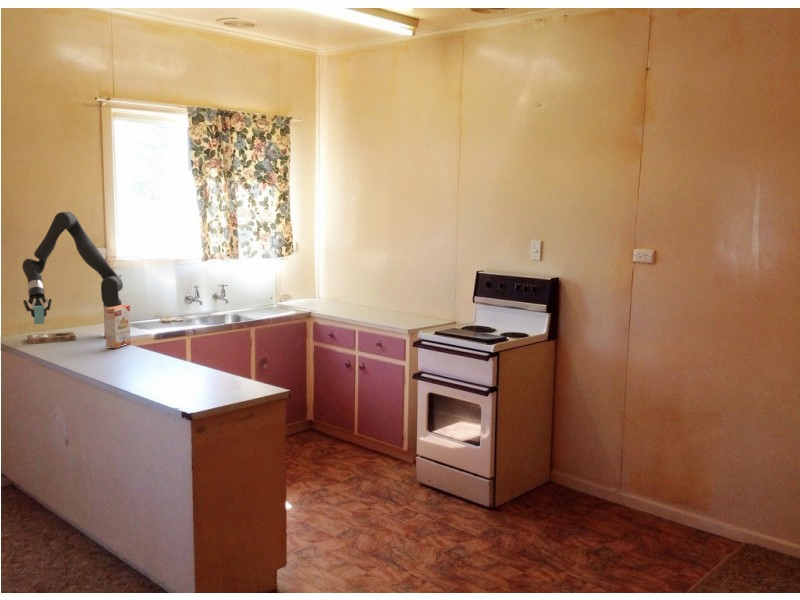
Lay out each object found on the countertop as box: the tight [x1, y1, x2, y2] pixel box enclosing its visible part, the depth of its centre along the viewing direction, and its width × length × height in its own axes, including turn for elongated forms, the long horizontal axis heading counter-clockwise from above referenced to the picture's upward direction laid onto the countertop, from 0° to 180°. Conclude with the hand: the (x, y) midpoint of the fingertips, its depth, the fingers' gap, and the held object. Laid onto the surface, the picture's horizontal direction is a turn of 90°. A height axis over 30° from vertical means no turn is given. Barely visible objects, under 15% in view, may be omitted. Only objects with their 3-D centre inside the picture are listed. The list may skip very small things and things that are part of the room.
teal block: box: [33, 306, 45, 325], centre depth 381 cm, size 4×4×9 cm
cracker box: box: [105, 304, 132, 349], centre depth 376 cm, size 14×6×21 cm, turn 168°
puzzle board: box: [27, 331, 77, 345], centre depth 386 cm, size 22×12×3 cm, turn 121°
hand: (39, 316), depth 380 cm, fingers closed on teal block, 4 cm apart
